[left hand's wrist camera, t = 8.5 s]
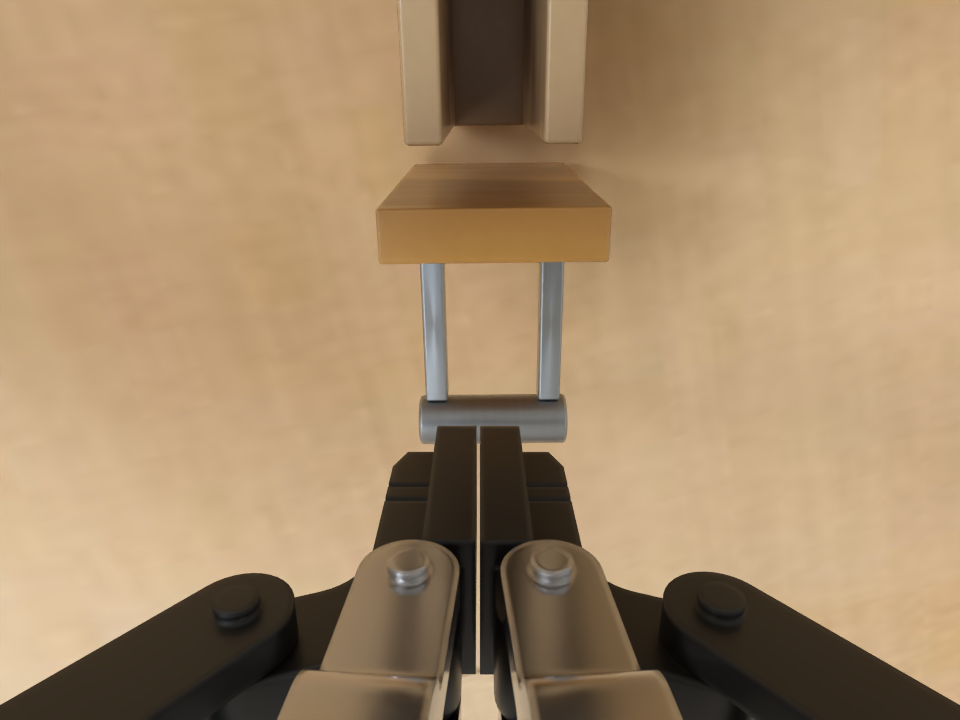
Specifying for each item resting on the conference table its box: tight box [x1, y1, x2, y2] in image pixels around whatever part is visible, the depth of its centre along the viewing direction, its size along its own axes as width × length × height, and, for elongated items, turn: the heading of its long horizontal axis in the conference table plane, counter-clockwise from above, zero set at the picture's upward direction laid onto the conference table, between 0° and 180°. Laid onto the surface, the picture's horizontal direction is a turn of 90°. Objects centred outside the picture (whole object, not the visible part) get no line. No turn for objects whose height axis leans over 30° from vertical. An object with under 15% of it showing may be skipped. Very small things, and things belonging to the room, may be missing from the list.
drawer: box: [376, 0, 612, 444], centre depth 17 cm, size 20×5×9 cm, turn 1°
